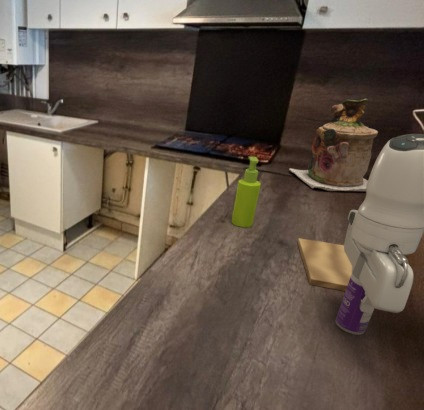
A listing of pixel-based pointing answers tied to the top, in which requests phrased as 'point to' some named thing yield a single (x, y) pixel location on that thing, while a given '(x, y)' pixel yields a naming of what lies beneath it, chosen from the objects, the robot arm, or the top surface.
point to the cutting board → (325, 264)
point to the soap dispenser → (246, 196)
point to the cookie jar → (340, 151)
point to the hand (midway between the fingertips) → (359, 299)
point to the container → (353, 303)
